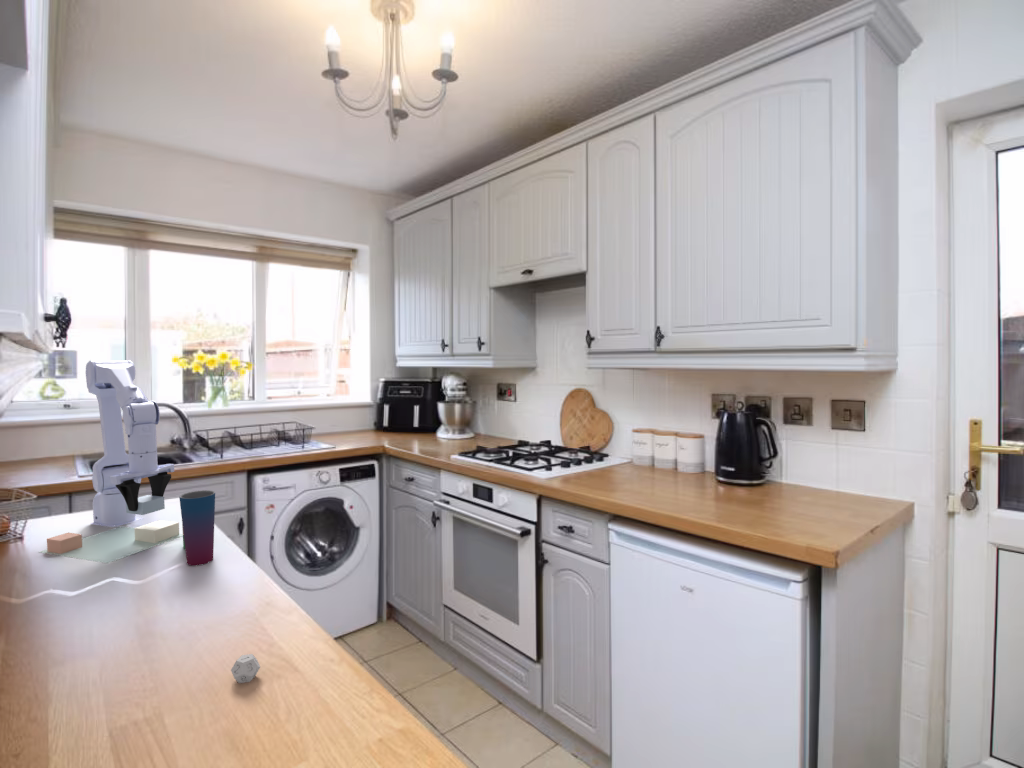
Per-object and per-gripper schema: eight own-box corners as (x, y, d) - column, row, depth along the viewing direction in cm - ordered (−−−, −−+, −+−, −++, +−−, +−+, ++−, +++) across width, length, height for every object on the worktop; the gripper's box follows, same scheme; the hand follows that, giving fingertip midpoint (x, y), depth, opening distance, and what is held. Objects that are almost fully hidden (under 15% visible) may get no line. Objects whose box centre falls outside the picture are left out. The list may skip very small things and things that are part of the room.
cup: (222, 560, 118) (219, 493, 117) (187, 570, 113) (184, 500, 112) (211, 553, 123) (209, 488, 122) (177, 561, 118) (175, 494, 117)
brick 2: (126, 512, 129) (125, 500, 128) (148, 506, 134) (147, 495, 134) (143, 515, 127) (142, 502, 127) (164, 508, 132) (164, 496, 132)
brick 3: (134, 540, 130) (134, 528, 130) (159, 531, 136) (159, 520, 136) (154, 543, 128) (154, 530, 128) (179, 534, 134) (178, 522, 134)
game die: (230, 676, 76) (229, 656, 76) (259, 668, 78) (258, 648, 78) (232, 689, 73) (231, 668, 73) (261, 681, 75) (261, 660, 75)
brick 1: (47, 551, 123) (46, 538, 122) (68, 544, 127) (68, 532, 127) (61, 553, 121) (60, 540, 121) (82, 546, 126) (81, 534, 125)
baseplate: (38, 554, 122) (38, 551, 122) (121, 528, 141) (121, 526, 140) (107, 565, 116) (107, 563, 116) (185, 536, 134) (185, 534, 134)
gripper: (124, 458, 121) (127, 517, 122) (182, 447, 135) (184, 500, 136) (102, 456, 124) (105, 514, 124) (161, 446, 137) (164, 498, 138)
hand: (145, 507), depth 130 cm, fingers closed on brick 2, 5 cm apart
